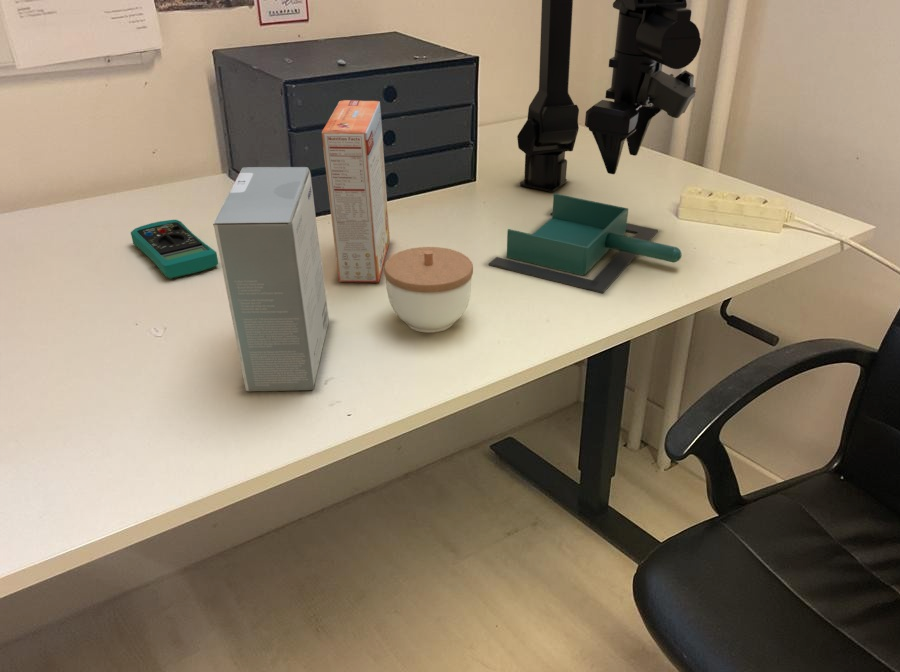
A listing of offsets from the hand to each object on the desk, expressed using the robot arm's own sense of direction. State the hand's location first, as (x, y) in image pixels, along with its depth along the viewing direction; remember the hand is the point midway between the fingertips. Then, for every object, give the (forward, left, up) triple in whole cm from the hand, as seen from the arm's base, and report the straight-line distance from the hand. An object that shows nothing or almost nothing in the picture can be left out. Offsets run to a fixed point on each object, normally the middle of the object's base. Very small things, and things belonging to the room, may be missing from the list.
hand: (622, 164), depth 117 cm
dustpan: (0, -5, -12) cm, 13 cm away
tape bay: (-4, -5, -12) cm, 14 cm away
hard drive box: (-22, -50, -12) cm, 56 cm away
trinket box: (-12, -35, -12) cm, 39 cm away
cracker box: (-29, -25, -12) cm, 40 cm away
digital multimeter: (-53, -37, -12) cm, 66 cm away
